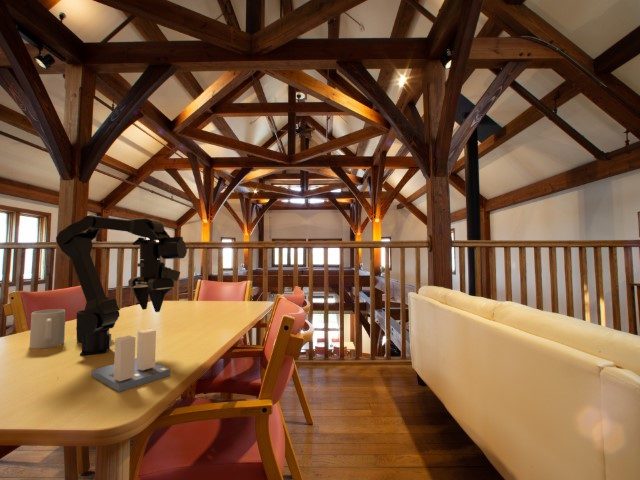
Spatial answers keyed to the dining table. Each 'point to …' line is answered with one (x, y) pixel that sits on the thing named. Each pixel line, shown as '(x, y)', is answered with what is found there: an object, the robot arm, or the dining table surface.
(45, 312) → the mug
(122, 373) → the tab
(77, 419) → the dining table surface
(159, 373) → the grey base plate
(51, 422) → the dining table surface
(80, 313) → the pen holder
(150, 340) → the tab
